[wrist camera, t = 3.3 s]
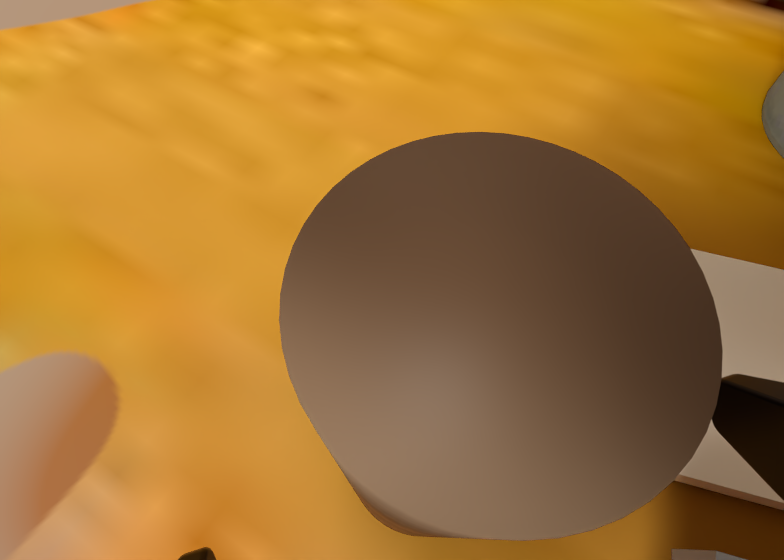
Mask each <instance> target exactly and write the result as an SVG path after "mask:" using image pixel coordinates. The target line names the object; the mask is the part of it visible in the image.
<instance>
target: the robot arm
mask: <svg viewBox="0 0 784 560" xmlns="http://www.w3.org/2000/svg"><path fill="white" fill-rule="evenodd" d="M712 422H713V425H714V427H715V428H716V430H717V431H718V432H719V434H720V435H721V436H722V437H723V438H724V439H725V440H726V441H727V442H728V443H729V444H730V445H731V446H732V447H733V448H734V449H735V450H736V451H737V453H738V454H739V455H740V456H741V457H742V458H743V459H744V460H745V461H746V462H747V463H748V464H749V465H750V466H751V467H752V468H753V469H754V470H755V472H756V473H757V474H758V475H759V476H760V477H761V478H762V479H763V480H764V481H765V482H766V483H767V484H768V485H769V486H770V487H771V488H772V489H773V491H774V492H775V493H776V494H777V495H778V496H779V497H780V498H781V499H782V500H783V501H784V382H779V381H774V380H769V379H764V378H759V377H753V376H748V375H743V374H732V375H729V376H725V377H722V379H721V384H720V389H719V395H718V400H717V405H716V408H715V411H714V414H713V416H712ZM178 560H216V558H215V555H214V553H213V551H212V550H211V549H210V548H208V547H204V548H201V549H198V550H194V551H191V552H188V553H185V554H184V555H182V556H181V557H180V558H179V559H178Z"/></svg>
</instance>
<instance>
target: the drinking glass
mask: <svg viewBox="0 0 784 560" xmlns="http://www.w3.org/2000/svg"><path fill="white" fill-rule="evenodd" d="M762 121H763V125H764V129H765V132H766V134H767V136H768V138H769V140H770V141H771V143H772V145H773V146H774V147H775V149H776V150H777V151H778V152H779V154H780V155H781V156H782V157H783V158H784V71H783V72H782V74H781V75H780V76H779V78H778V79H777V80H776V82H775V83H774V84H773V86H772V87H771V88H770V90H769V91H768V93H767V96H766V98H765V101H764V104H763V108H762Z"/></svg>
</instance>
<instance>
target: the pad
mask: <svg viewBox="0 0 784 560" xmlns="http://www.w3.org/2000/svg"><path fill="white" fill-rule="evenodd" d="M691 251H692V253H693V255H694V256H695V258H696V260H697V262H698V264H699V266H700V268H701V269H702V271H703V273H704V276H705V278H706V281H707V283H708V286H709V288H710V291H711V294H712V296H713V299H714V303H715V307H716V311H717V315H718V319H719V323H720V331H721V340H722V350H723V354H722V377H725V376H729V375H732V374H743V375H748V376H753V377H759V378H764V379H769V380H774V381H779V382H784V270H783V269H778V268H774V267H769V266H765V265H760V264H756V263H752V262H747V261H743V260H738V259H734V258H730V257H725V256H721V255H716V254H712V253H708V252H703V251H699V250H694V249H691ZM674 481H678V482H682V483H685V484H689V485H693V486H696V487H700V488H704V489H707V490H711V491H714V492H718V493H722V494H725V495H729V496H733V497H736V498H740V499H743V500H747V501H751V502H754V503H758V504H762V505H765V506H769V507H773V508H776V509H780V510H783V511H784V501H783V500H782V499H781V498H780V497H779V496H778V495H777V494H776V493H775V492H774V491H773V489H772V488H771V487H770V486H769V485H768V484H767V483H766V482H765V481H764V480H763V479H762V478H761V477H760V476H759V475H758V474H757V473H756V472H755V470H754V469H753V468H752V467H751V466H750V465H749V464H748V463H747V462H746V461H745V460H744V459H743V458H742V457H741V456H740V455H739V454H738V453H737V451H736V450H735V449H734V448H733V447H732V446H731V445H730V444H729V443H728V442H727V441H726V440H725V439H724V438H723V437H722V436H721V435H720V434H719V432H718V431H717V430H716V428H715V427H714V425H713V422H712V419H711V422H710V424H709V427H708V430H707V433H706V434H705V436H704V438H703V440H702V441H701V443H700V445H699V447H698V448H697V450H696V452H695V454H694V455H693V457H692V459H691V460H690V461H689V462H688V464H687V465H686V466H685V467H684V468H683V470H682V471H681V472H680V473H679V475H678V476H677V477H676V478H675V479H674Z"/></svg>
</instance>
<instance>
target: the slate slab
mask: <svg viewBox="0 0 784 560" xmlns="http://www.w3.org/2000/svg"><path fill="white" fill-rule="evenodd" d="M672 560H747V559H743V558H740V557H736V556H733V555H729V554H726V553H722V552H719V551H713V550H690V549H672Z"/></svg>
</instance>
